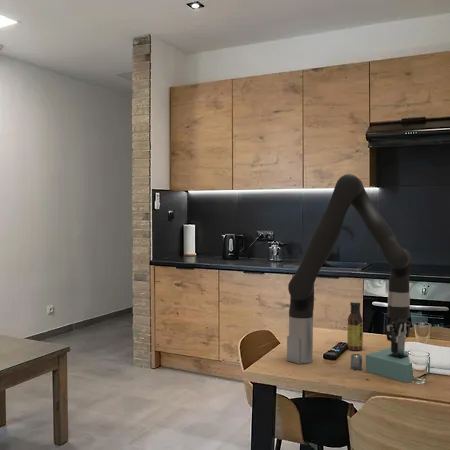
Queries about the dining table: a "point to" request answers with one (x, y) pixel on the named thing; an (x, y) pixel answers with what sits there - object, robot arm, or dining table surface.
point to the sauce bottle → (355, 327)
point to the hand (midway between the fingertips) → (397, 351)
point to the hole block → (390, 365)
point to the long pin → (399, 346)
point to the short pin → (356, 361)
